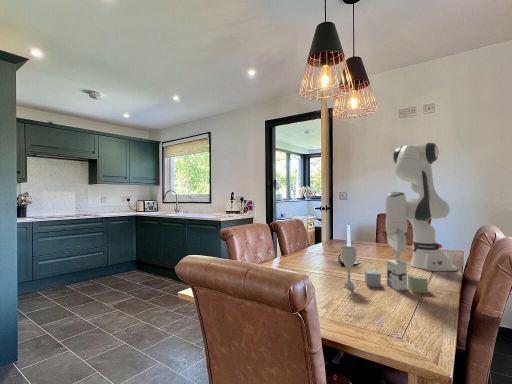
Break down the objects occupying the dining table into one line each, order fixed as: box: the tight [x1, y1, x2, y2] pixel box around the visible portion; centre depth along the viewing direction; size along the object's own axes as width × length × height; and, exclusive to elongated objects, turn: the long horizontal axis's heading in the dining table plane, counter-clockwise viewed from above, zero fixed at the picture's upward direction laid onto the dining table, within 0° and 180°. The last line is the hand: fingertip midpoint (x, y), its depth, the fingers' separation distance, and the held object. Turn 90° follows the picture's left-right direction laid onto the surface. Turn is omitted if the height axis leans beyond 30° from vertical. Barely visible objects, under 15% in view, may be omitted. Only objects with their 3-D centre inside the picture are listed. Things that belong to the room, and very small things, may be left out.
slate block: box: [364, 269, 382, 288], centre depth 135 cm, size 6×6×6 cm
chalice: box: [340, 246, 358, 290], centre depth 132 cm, size 7×7×18 cm
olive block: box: [407, 274, 428, 294], centre depth 127 cm, size 6×6×6 cm
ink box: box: [386, 259, 408, 291], centre depth 131 cm, size 8×5×12 cm, turn 5°
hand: (396, 258), depth 131 cm, fingers closed
